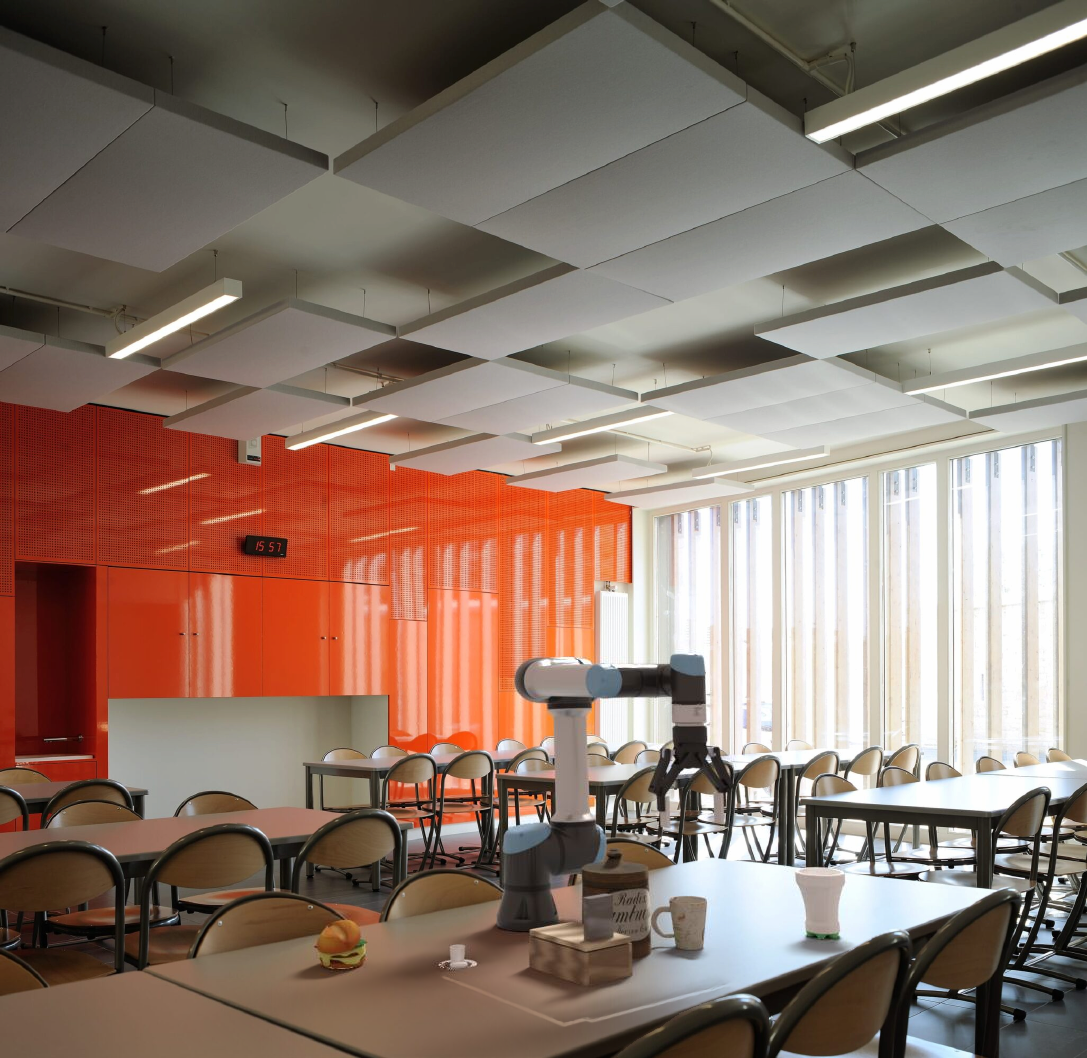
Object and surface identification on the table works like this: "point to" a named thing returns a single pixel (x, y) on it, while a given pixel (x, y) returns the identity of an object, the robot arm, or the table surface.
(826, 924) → the cup
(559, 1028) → the table surface
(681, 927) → the mug
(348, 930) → the cheeseburger
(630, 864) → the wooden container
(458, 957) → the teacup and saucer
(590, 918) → the lid
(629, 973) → the box
